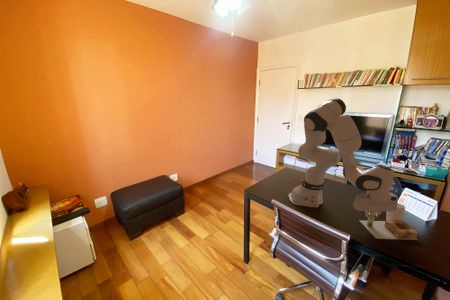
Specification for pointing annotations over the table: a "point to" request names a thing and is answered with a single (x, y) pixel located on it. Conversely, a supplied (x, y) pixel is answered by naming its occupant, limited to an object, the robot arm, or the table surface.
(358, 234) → the table surface
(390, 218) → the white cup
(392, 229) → the square wooden tray
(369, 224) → the wooden peg
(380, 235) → the mat
